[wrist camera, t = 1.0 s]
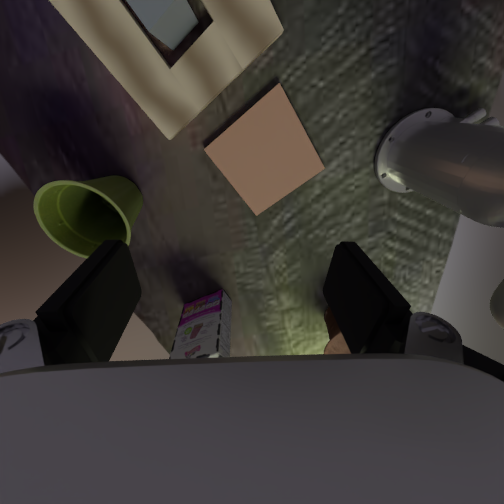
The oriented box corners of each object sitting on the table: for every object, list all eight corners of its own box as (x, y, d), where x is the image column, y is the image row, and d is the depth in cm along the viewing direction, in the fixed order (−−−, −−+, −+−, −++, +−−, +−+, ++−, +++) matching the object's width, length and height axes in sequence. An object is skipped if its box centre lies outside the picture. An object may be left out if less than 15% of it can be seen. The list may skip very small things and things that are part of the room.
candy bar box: (195, 315, 57) (179, 382, 43) (183, 303, 54) (163, 370, 41) (233, 301, 54) (230, 367, 41) (223, 287, 52) (216, 353, 38)
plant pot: (73, 160, 36) (12, 180, 26) (147, 161, 36) (114, 180, 27) (99, 226, 42) (58, 260, 33) (162, 226, 43) (140, 260, 33)
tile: (278, 83, 31) (279, 82, 30) (323, 166, 38) (324, 168, 37) (204, 148, 35) (203, 149, 35) (256, 213, 42) (256, 215, 41)
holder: (158, -223, 19) (150, -255, 18) (281, 34, 28) (283, 29, 27) (39, -19, 25) (25, -28, 24) (172, 138, 34) (169, 140, 33)
